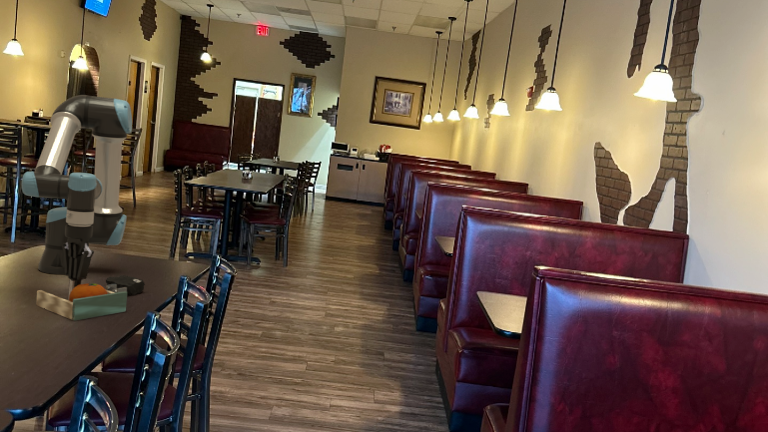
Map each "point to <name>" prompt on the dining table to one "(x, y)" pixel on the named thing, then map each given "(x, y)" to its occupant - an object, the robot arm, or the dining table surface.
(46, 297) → the bay
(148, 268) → the dining table surface
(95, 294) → the fruit
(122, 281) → the rock
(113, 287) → the dark grey bracket
